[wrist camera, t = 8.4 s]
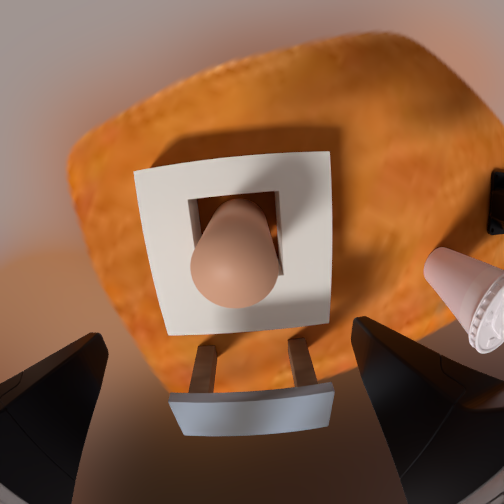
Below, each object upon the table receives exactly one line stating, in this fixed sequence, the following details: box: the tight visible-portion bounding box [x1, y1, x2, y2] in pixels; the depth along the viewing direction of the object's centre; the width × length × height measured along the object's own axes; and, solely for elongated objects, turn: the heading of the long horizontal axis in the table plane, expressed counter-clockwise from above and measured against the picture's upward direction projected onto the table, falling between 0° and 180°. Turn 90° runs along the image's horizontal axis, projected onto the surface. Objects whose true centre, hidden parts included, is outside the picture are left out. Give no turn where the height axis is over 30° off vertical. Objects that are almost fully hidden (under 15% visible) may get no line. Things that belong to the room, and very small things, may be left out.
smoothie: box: [424, 247, 504, 353], centre depth 15 cm, size 6×6×14 cm
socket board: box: [134, 151, 332, 335], centre depth 19 cm, size 12×12×3 cm
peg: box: [190, 198, 279, 308], centre depth 16 cm, size 4×4×8 cm
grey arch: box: [168, 338, 334, 436], centre depth 19 cm, size 10×4×9 cm, turn 95°
